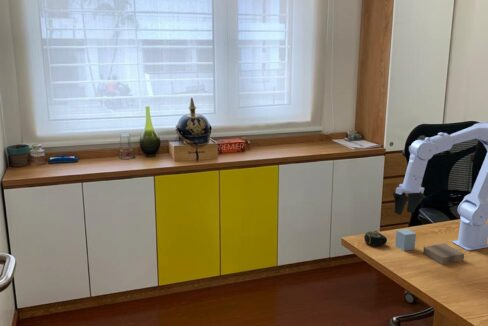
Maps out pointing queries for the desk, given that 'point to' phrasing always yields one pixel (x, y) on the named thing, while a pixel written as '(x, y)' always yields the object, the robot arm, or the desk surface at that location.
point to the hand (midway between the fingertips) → (403, 213)
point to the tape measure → (375, 238)
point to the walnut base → (443, 254)
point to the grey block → (405, 239)
